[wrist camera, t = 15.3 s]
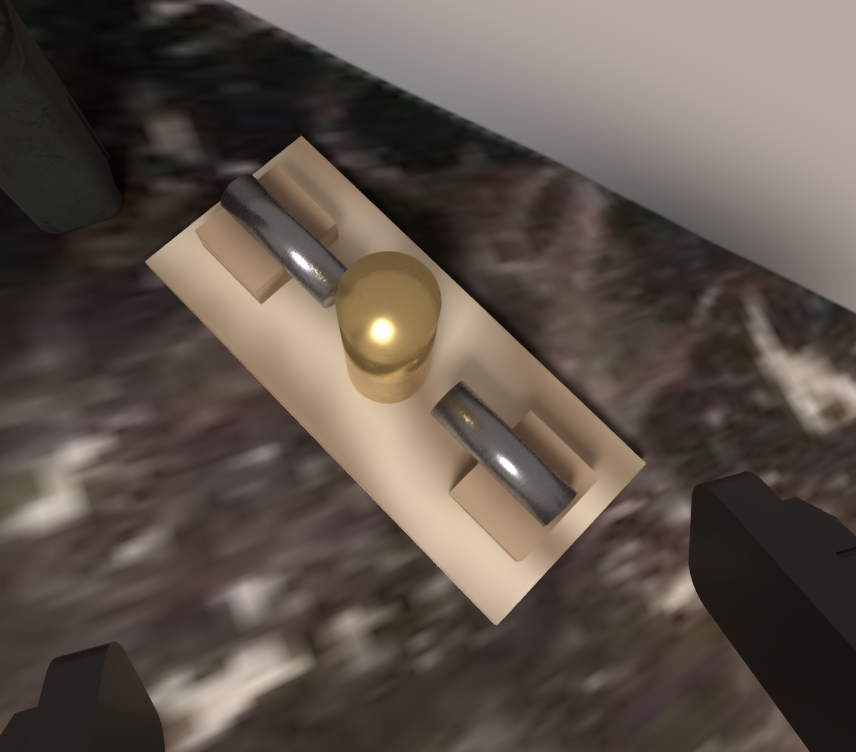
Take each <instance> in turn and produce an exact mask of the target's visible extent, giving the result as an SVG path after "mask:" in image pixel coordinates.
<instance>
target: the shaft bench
mask: <svg viewBox="0 0 856 752" xmlns="http://www.w3.org/2000/svg"><path fill="white" fill-rule="evenodd" d="M253 176H254V177H255V178H256V179H257V180H258V181H259V182H260V183H261V184H262V185H263V186H264V187H265V188H266V189H267V190H268V191H269V192H270V193H271V194H272V195H273V196H274V197H275V198H276V199H277V200H278V201H279V202H280V203H281V204H282V205H284V206H285V207H286V208H287V209H288V210H289V211H290V212H291V213H292V214H293V215H294V216H295V217H296V218H297V219H298V220H299V221H300V222H301V223H302V224H303V225H304V226H305V227H306V228H307V229H308V230H309V231H310V232H311V233H312V234H313V235H314V236H315V237H316V238H317V239H318V240H319V241H320V242H321V243H322V244H323V245H324V246H326V247H327V248H328V249H329V250H330V251H331V252H332V253H333V254H334V255H335V256H336V257H337V258H338V259H339V260H340V261H341V262H342V263H343V264H344V265H345V266H346V267H347V268H349V267H350V266H351V265H352V264H353V263H354V262H356V261H357V260H359V259H360V258H362V257H364V256H366V255H369V254H372V253H376V252H382V251H394V252H400V253H404V254H407V255H410V256H412V257H414V258H416V259H417V260H419V261H420V262H422V263H423V264H424V265H425V266H427V268H428V269H429V270H430V271H431V272H432V274H433V275H434V276H435V278H436V280H437V282H438V285H439V288H440V292H441V300H442V303H441V311H440V316H439V321H438V326H437V331H436V336H435V340H434V345H433V350H432V355H431V360H430V365H429V370H428V374H427V377H426V380H425V382H424V384H423V385H422V387H421V388H420V389H419V390H418V391H417V393H415V394H414V395H413V396H411V397H410V398H408V399H406V400H404V401H401V402H398V403H392V404H384V403H378V402H374V401H372V400H370V399H368V398H366V397H364V396H363V395H362V394H360V393H359V392H358V391H357V390H356V388H355V387H354V386H353V384H352V383H351V380H350V378H349V375H348V371H347V366H346V361H345V355H344V350H343V345H342V339H341V334H340V329H339V323H338V318H337V312H336V306H335V304H334V305H333V306H331V307H329V308H323V307H322V306H321V305H320V304H319V303H318V302H317V301H316V300H315V299H314V298H313V297H312V296H311V295H310V294H309V293H308V292H307V291H306V290H305V289H304V288H303V287H302V286H301V285H300V284H299V283H298V282H297V281H296V280H295V279H294V278H293V277H292V276H291V275H290V274H289V273H288V272H287V271H286V270H285V269H284V268H283V267H282V266H281V265H280V264H279V263H278V262H277V261H276V260H275V259H274V258H273V257H272V256H271V255H270V254H269V253H268V252H267V251H266V250H265V249H264V248H263V247H262V246H261V245H260V244H259V243H258V242H257V241H256V240H255V239H254V238H253V237H252V236H251V235H250V234H249V233H248V232H247V231H246V230H245V229H244V228H243V227H242V226H241V225H240V224H239V223H238V222H237V221H236V220H235V219H234V218H233V217H232V216H231V215H230V214H229V213H228V212H227V211H226V210H224V209H223V208H222V206H221V201H220V202H218V203H217V204H216V205H215V206H213V207H212V208H211V209H210V210H208V211H207V212H206V213H205V214H203V215H202V216H201V217H200V218H198V219H197V220H196V221H195V222H194V223H192V224H191V225H190V226H189V227H187V228H186V229H185V230H184V231H182V232H181V233H180V234H179V235H177V236H176V237H175V238H174V239H172V240H171V241H170V242H169V243H167V244H166V245H165V246H164V247H162V248H161V249H160V250H159V251H157V252H156V253H155V254H154V255H153V256H151V257H150V258H149V259H148V260H146V261H145V262H146V263H147V265H148V266H149V267H150V269H151V270H152V271H153V272H154V273H155V274H156V275H157V276H158V277H159V278H160V279H161V280H162V281H163V282H164V283H165V284H166V285H167V286H168V287H169V288H170V289H171V290H172V291H173V292H174V294H175V295H176V296H177V297H178V298H179V299H180V300H181V301H182V302H183V303H184V304H185V305H186V306H187V307H188V308H189V309H190V310H191V311H192V312H193V313H194V314H195V315H196V316H197V317H198V318H199V319H200V320H201V321H202V322H203V324H204V325H205V326H206V327H207V328H208V329H209V330H210V331H211V332H212V333H213V334H214V335H215V336H216V337H217V338H218V339H219V340H220V341H221V342H222V343H223V344H224V345H225V346H226V347H227V348H228V349H229V350H230V351H231V353H232V354H233V355H234V356H235V357H236V358H237V359H238V360H239V361H240V362H241V363H242V364H243V365H244V366H245V367H246V368H247V369H248V370H249V371H250V372H251V373H252V374H253V375H254V376H255V377H256V378H257V379H258V380H259V381H260V383H261V384H262V385H263V386H264V387H265V388H266V389H267V390H268V391H269V392H270V393H271V394H272V395H273V396H274V397H275V398H276V399H277V400H278V401H279V402H280V403H281V404H282V405H283V406H284V407H285V408H286V409H287V410H288V411H289V413H290V414H291V415H292V416H293V417H294V418H295V419H296V420H297V421H298V422H299V423H300V424H301V425H302V426H303V427H304V428H305V429H306V430H307V431H308V432H309V433H310V434H311V435H312V436H313V437H314V438H315V439H316V440H317V441H318V443H319V444H320V445H321V446H322V447H323V448H324V449H325V450H326V451H327V452H328V453H329V454H330V455H331V456H332V457H333V458H334V459H335V460H336V461H337V462H338V463H339V464H340V465H341V466H342V467H343V468H344V469H345V470H346V471H347V473H348V474H349V475H350V476H351V477H352V478H353V479H354V480H355V481H356V482H357V483H358V484H359V485H360V486H361V487H362V488H363V489H364V490H365V491H366V492H367V493H368V494H369V495H370V496H371V497H372V498H373V499H374V500H375V501H376V503H377V504H378V505H379V506H380V507H381V508H382V509H383V510H384V511H385V512H386V513H387V514H388V515H389V516H390V517H391V518H392V519H393V520H394V521H395V522H396V523H397V524H398V525H399V526H400V527H401V528H402V529H403V530H404V531H405V533H406V534H407V535H408V536H409V537H410V538H411V539H412V540H413V541H414V542H415V543H416V544H417V545H418V546H419V547H420V548H421V549H422V550H423V551H424V552H425V553H426V554H427V555H428V556H429V557H430V558H431V559H432V560H433V561H434V563H435V564H436V565H437V566H438V567H439V568H440V569H441V570H442V571H443V572H444V573H445V574H446V575H447V576H448V577H449V578H450V579H451V580H452V581H453V582H454V583H455V584H456V585H457V586H458V587H459V588H460V589H461V590H462V591H463V593H464V594H465V595H466V596H467V597H468V598H469V599H470V600H471V601H472V602H473V603H474V604H475V605H476V606H477V607H478V608H479V609H480V610H481V611H482V612H483V613H484V614H485V615H486V616H487V617H488V618H489V619H490V620H491V621H492V623H493V624H495V625H498V624H499V623H500V622H501V621H502V620H503V618H504V617H505V616H506V615H507V614H508V613H509V612H510V611H511V610H512V609H513V608H514V606H515V605H516V604H517V603H518V602H519V601H520V600H521V599H522V598H523V597H524V596H525V595H526V593H527V592H528V591H529V590H530V589H531V588H532V587H533V586H534V585H535V584H536V583H537V581H538V580H539V579H540V578H541V577H542V576H543V575H544V574H545V573H546V572H547V571H548V570H549V568H550V567H551V566H552V565H553V564H554V563H555V562H556V561H557V560H558V559H559V558H560V557H561V555H562V554H563V553H564V552H565V551H566V550H567V549H568V548H569V547H570V546H571V545H572V543H573V542H574V541H575V540H576V539H577V538H578V537H579V536H580V535H581V534H582V533H583V532H584V530H585V529H586V528H587V527H588V526H589V525H590V524H591V523H592V522H593V521H594V520H595V519H596V517H597V516H598V515H599V514H600V513H601V512H602V511H603V510H604V509H605V508H606V507H607V505H608V504H609V503H610V502H611V501H612V500H613V499H614V498H615V497H616V496H617V495H618V494H619V492H620V491H621V490H622V489H623V488H624V487H625V486H626V485H627V484H628V483H629V482H630V480H631V479H632V478H633V477H634V476H635V475H636V474H637V473H638V472H639V471H640V470H641V469H642V467H643V466H644V465H645V464H646V463H645V462H644V461H643V460H642V459H641V458H640V457H639V456H638V455H637V454H635V453H634V452H633V451H632V450H631V449H630V448H629V447H628V446H627V445H626V444H625V443H624V442H623V441H622V440H621V439H620V438H619V437H618V436H617V435H616V434H614V433H613V432H612V431H611V430H610V429H609V428H608V427H607V426H606V425H605V424H604V423H603V422H602V421H601V420H600V419H599V418H598V417H597V416H596V415H594V414H593V413H592V412H591V411H590V410H589V409H588V408H587V407H586V406H585V405H584V404H583V403H582V402H581V401H580V400H579V399H578V398H577V397H576V396H575V395H573V394H572V393H571V392H570V391H569V390H568V389H567V388H566V387H565V386H564V385H563V384H562V383H561V382H560V381H559V380H558V379H557V378H556V377H555V376H553V375H552V374H551V373H550V372H549V371H548V370H547V369H546V368H545V367H544V366H543V365H542V364H541V363H540V362H539V361H538V360H537V359H536V358H535V357H534V356H532V355H531V354H530V353H529V352H528V351H527V350H526V349H525V348H524V347H523V346H522V345H521V344H520V343H519V342H518V341H517V340H516V339H515V338H514V337H512V336H511V335H510V334H509V333H508V332H507V331H506V330H505V329H504V328H503V327H502V326H501V325H500V324H499V323H498V322H497V321H496V320H495V319H494V318H493V317H491V316H490V315H489V314H488V313H487V312H486V311H485V310H484V309H483V308H482V307H481V306H480V305H479V304H478V303H477V302H476V301H475V300H474V299H473V298H472V297H470V296H469V295H468V294H467V293H466V292H465V291H464V290H463V289H462V288H461V287H460V286H459V285H458V284H457V283H456V282H455V281H454V280H453V279H452V278H450V277H449V276H448V275H447V274H446V273H445V272H444V271H443V270H442V269H441V268H440V267H439V266H438V265H437V264H436V263H435V262H434V261H433V260H432V259H431V258H429V257H428V256H427V255H426V254H425V253H424V252H423V251H422V250H421V249H420V248H419V247H418V246H417V245H416V244H415V243H414V242H413V241H412V240H411V239H409V238H408V237H407V236H406V235H405V234H404V233H403V232H402V231H401V230H400V229H399V228H398V227H397V226H396V225H395V224H394V223H393V222H392V221H391V220H390V219H388V218H387V217H386V216H385V215H384V214H383V213H382V212H381V211H380V210H379V209H378V208H377V207H376V206H375V205H374V204H373V203H372V202H371V201H370V200H369V199H367V198H366V197H365V196H364V195H363V194H362V193H361V192H360V191H359V190H358V189H357V188H356V187H355V186H354V185H353V184H352V183H351V182H350V181H349V180H347V179H346V178H345V177H344V176H343V175H342V174H341V173H340V172H339V171H338V170H337V169H336V168H335V167H334V166H333V165H332V164H331V163H330V162H329V161H328V160H326V159H325V158H324V157H323V156H322V155H321V154H320V153H319V152H318V151H317V150H316V149H315V148H314V147H313V146H312V145H311V144H310V143H309V142H308V141H306V140H305V139H304V138H303V137H302V136H300V137H299V138H298V139H297V140H295V141H294V142H293V143H292V144H290V145H289V146H288V147H287V148H286V149H284V150H283V151H282V152H281V153H279V154H278V155H277V156H276V157H274V158H273V159H272V160H271V161H269V162H268V163H267V164H266V165H264V166H263V167H262V168H261V169H259V170H258V171H257V172H256V173H254V174H253ZM462 380H463V381H464V382H465V383H466V384H467V385H468V386H469V387H470V388H471V389H472V390H473V391H474V392H475V393H476V394H477V395H478V396H479V397H480V398H481V399H482V400H483V401H484V402H485V403H486V404H487V405H488V406H489V407H490V408H491V409H492V410H493V411H494V412H495V413H497V414H498V415H499V416H500V417H501V418H502V419H503V420H504V421H505V422H506V423H507V424H508V425H509V426H510V427H511V428H512V429H513V430H514V431H515V432H516V433H517V434H518V435H519V436H520V437H521V438H522V439H523V440H524V441H525V442H526V443H527V444H528V445H529V446H530V447H531V448H532V449H533V450H534V451H535V452H536V453H537V454H539V455H540V456H541V457H542V458H543V459H544V460H545V461H546V462H547V463H548V464H549V465H550V466H551V467H552V468H553V469H554V470H555V471H556V472H557V473H558V474H559V475H560V476H561V477H562V478H563V479H564V480H565V481H566V482H567V483H568V484H569V485H570V486H571V487H572V488H573V489H574V490H575V491H576V492H577V495H576V496H575V497H574V499H573V500H572V501H571V502H570V503H569V505H568V506H567V507H566V508H565V509H564V510H563V511H562V512H561V513H560V514H559V515H558V516H557V517H556V518H555V519H554V520H553V521H551V522H550V523H549V524H548V525H546V526H545V527H543V526H542V525H541V524H540V523H539V522H538V521H537V520H536V519H535V518H534V517H533V516H532V515H531V514H530V513H529V512H528V511H527V510H526V509H525V508H524V507H523V506H522V505H521V504H520V503H519V502H518V501H517V500H516V499H515V498H514V497H513V496H512V495H511V494H510V493H509V492H508V491H507V490H506V489H505V488H504V487H503V486H502V485H501V484H500V483H499V482H498V481H497V480H496V479H495V478H494V477H493V476H492V475H491V474H490V473H489V472H488V471H487V470H486V469H485V468H484V467H483V466H482V465H481V464H480V463H479V462H478V461H477V460H476V459H475V458H474V457H473V456H472V455H471V454H470V453H469V452H468V451H467V450H466V449H465V448H464V447H463V446H462V445H461V444H460V443H459V442H458V441H457V440H456V439H455V438H454V437H453V436H452V435H451V434H450V433H449V432H448V431H447V430H446V429H445V428H444V427H443V426H442V425H441V424H440V423H439V422H438V421H437V420H436V419H435V418H434V417H433V416H432V415H431V414H430V412H431V410H432V409H433V408H434V406H435V405H436V404H437V403H438V402H439V401H440V400H441V398H442V397H443V396H444V395H445V394H446V393H447V392H448V391H449V390H451V389H452V388H453V387H454V386H455V385H456V384H457V383H459V382H460V381H462Z"/></svg>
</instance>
